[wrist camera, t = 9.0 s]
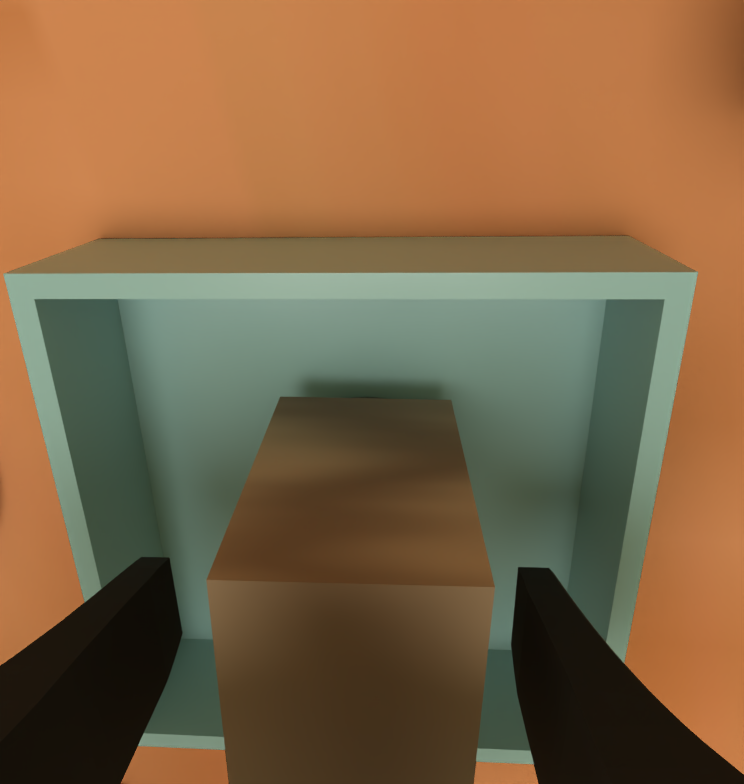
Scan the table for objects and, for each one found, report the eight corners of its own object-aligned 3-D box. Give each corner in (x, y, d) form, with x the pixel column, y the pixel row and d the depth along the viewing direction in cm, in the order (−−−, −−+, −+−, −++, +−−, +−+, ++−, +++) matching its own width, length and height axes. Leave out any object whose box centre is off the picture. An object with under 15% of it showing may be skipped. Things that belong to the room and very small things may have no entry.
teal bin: (569, 649, 20) (604, 767, 16) (171, 635, 21) (119, 744, 17) (628, 235, 15) (697, 271, 11) (98, 238, 16) (3, 273, 12)
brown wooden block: (461, 377, 16) (523, 588, 9) (447, 568, 18) (487, 863, 11) (273, 373, 16) (177, 578, 9) (283, 564, 18) (213, 854, 11)
